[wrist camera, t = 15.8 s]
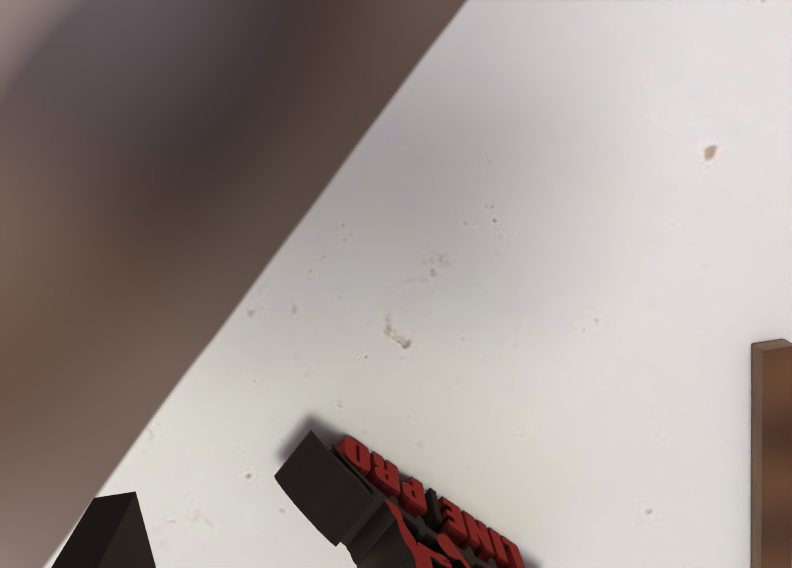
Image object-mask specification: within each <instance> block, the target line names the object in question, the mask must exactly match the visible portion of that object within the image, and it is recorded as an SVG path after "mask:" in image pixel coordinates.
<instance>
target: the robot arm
mask: <svg viewBox="0 0 792 568" xmlns="http://www.w3.org/2000/svg"><path fill="white" fill-rule="evenodd" d="M51 568H156V566H155V562H154V559H153V555H152V551H151V547H150V544H149V540H148V536H147V532H146V529H145V525H144V521H143V517H142V514H141V510H140V506H139V502H138V499H137V495H136V492H129V493H123V494H116V495H110V496H104V497H97V498H94V499H93V500H92V502H91V503H90V505H89V507H88V508H87V510H86V512H85V513H84V515H83V517H82V518H81V520H80V521H79V523H78V525H77V526H76V528H75V530H74V531H73V533H72V535H71V536H70V538H69V540H68V541H67V543H66V544H65V546H64V548H63V549H62V551H61V553H60V554H59V556H58V558H57V559H56V561H55V562H54V564H53V566H52V567H51Z"/></svg>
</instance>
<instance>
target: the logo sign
mask: <svg viewBox="0 0 792 568" xmlns="http://www.w3.org/2000/svg"><path fill="white" fill-rule="evenodd" d="M274 477H275V479H276V481H277V482H278V483H279V485H280V486H281V488H282V489H283V490H284V492H285V493H286V494H287V495H288V496H289V498H290V499H291V500H292V501H293V503H294V504H295V505H296V506H297V507H298V508H299V510H300V511H301V512H302V513H303V514H304V515H305V516H306V517H307V518H308V520H309V521H310V522H311V523H312V524H313V525H314V526H315V527H316V528H317V530H318V531H319V532H320V533H321V534H323V535H324V536H325V537H326V538H327V539H328V540H329V541H330V542H331V543H332V544H333V545H335V546H337V545H338V544H339V542H341V543H343V544H344V545H345V546H346V547H347V550H348V551H349V552H350V554H351V557H352V559H353V562H354V563H355V564H356V565H357V568H525V566H524V564H523V561H522V558H521V556H520V553H519V550H518V548H517V546H516V545H514V544H513V543H511V542H510V541H508V540H507V539H505V538H504V537H502V536H501V537H500V536H499V534H498V533H496V532H495V531H493V530H492V529H490V528H489V529H488V530H487V528H486V526H485V525H484V524H482V523H481V522H479V521H478V520H477V522H475V520H474V519H473V517H471V516H470V515H469V514H467V513H466V512H463V513H462V514H461V511H460V508H458V507H457V506H455V505H454V504H452V503H450V502H449V501H447V500H446V499H444V498H443V497H442V498H441V500H440V501H439V502H438V500H437V496H436V492H435V491H434V490H432V489H431V488H430V489H429V490H428V491H427V492H426V494H425V495H424V490H423V485H422V483H420V482H419V481H417V480H416V479H414V478H411V479H410V480H409V481H408V483H405V482H402V483H401V485H399V477H398V470H397V467H396V466H394V465H393V464H391V463H390V462H388V461H387V460H386V462H385V463H384V460H383V458H382V457H381V456H379V455H378V454H376V453H375V452H373V454H372V455H371V456H370V453H369V451H368V449H367V448H366V447H365V446H364V445H362V444H361V443H360V442H358V441H357V440H355V439H354V438H352V437H345V439H344V440H343V441H342V442H341V444H340V445H339V446H338V447H337V449H336V448H335V447H334V446H333V445H332V446H331V447H330V448H329V449H328V448H327V447H326V446H325V445H324V444H323V443H322V442H321V441H320V439H319V438H318V437H317V436H316V435H315V434H314V433H313V432H312V431H311V430H310V432H309V433H308V434H307V435H306V437H305V438H304V439H303V440H302V442H301V443H300V444H299V445H298V447H297V448H296V449H295V450H294V452H293V453H292V454H291V455H290V457H289V458H288V459H287V461H286V462H285V463H284V464H283V466H282V467H281V468H280V469H279V471H278V472H277V473H276V474H275V476H274Z"/></svg>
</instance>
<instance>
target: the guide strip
mask: <svg viewBox="0 0 792 568" xmlns="http://www.w3.org/2000/svg"><path fill="white" fill-rule="evenodd" d="M752 568H792V343H790V342H789V341H787V340H785V339H781V340H775V341H768V342H762V343H755V344H752Z"/></svg>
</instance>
